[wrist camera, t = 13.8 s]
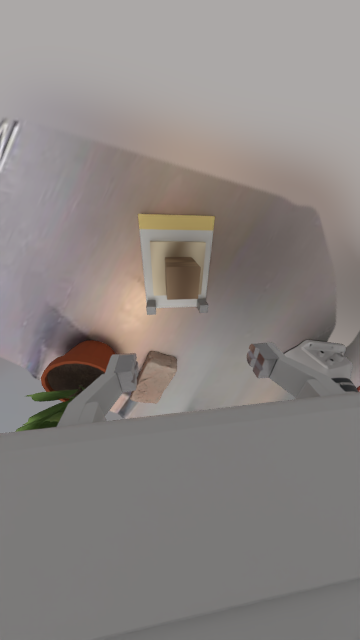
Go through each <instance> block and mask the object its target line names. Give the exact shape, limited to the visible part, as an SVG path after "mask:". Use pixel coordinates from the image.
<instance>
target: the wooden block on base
mask: <svg viewBox="0 0 360 640" xmlns="http://www.w3.org/2000/svg"><path fill="white" fill-rule="evenodd" d="M205 249H206V242H194V241H150V251H151V266H152V280H153V294H154V296H161V295H167V300H179V299H198V295H201V290H202V280H203V269H204V259H205Z"/></svg>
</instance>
